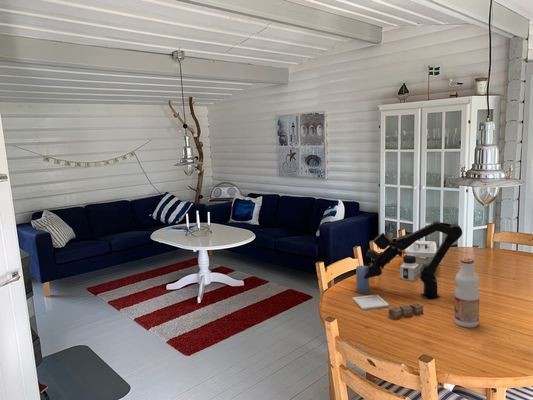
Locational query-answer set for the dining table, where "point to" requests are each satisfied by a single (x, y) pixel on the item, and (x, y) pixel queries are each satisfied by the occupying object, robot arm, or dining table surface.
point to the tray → (370, 302)
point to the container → (409, 268)
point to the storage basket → (422, 252)
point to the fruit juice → (466, 295)
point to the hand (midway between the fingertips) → (365, 275)
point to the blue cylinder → (362, 279)
